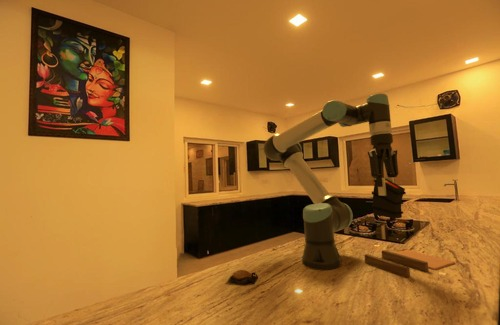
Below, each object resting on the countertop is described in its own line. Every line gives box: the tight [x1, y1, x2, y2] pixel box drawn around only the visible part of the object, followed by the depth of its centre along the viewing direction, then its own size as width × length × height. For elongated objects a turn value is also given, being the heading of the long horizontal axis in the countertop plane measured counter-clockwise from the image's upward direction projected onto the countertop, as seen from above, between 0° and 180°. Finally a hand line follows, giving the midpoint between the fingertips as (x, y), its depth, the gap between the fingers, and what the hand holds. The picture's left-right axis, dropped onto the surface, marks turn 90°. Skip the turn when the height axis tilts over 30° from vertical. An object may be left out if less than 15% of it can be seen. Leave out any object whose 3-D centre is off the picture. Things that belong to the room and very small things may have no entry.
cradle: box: [364, 249, 430, 279], centre depth 88 cm, size 11×17×3 cm, turn 22°
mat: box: [395, 249, 456, 271], centre depth 94 cm, size 12×18×1 cm, turn 22°
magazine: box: [370, 176, 407, 219], centre depth 91 cm, size 4×13×15 cm, turn 15°
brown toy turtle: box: [225, 269, 259, 286], centre depth 85 cm, size 11×8×4 cm
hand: (387, 194), depth 90 cm, fingers closed on magazine, 4 cm apart
